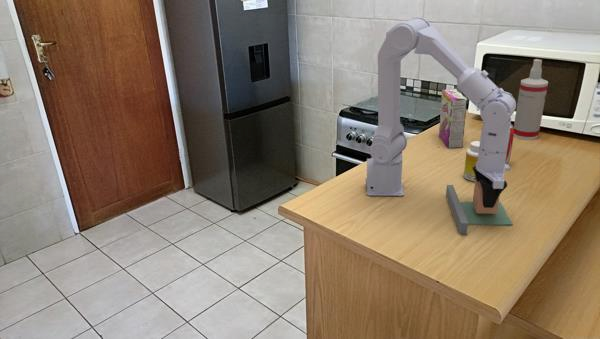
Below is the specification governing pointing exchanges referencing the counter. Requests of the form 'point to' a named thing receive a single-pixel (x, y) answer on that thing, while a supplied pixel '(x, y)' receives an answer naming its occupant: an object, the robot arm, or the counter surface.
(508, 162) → the soda can
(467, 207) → the rubber mat
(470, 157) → the supplement bottle
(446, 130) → the candy bar box
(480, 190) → the terracotta block
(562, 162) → the counter surface
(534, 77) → the nozzle squeeze bottle
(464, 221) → the low wall
